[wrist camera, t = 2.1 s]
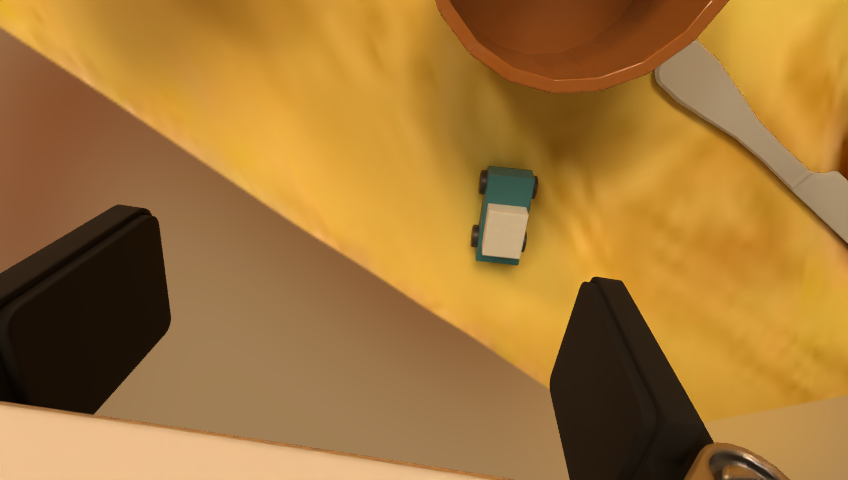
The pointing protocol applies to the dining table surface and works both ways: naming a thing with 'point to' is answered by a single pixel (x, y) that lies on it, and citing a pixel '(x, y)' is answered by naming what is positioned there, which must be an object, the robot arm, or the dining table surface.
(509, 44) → the tumbler
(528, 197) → the toy car
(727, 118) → the butter knife
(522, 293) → the dining table surface
